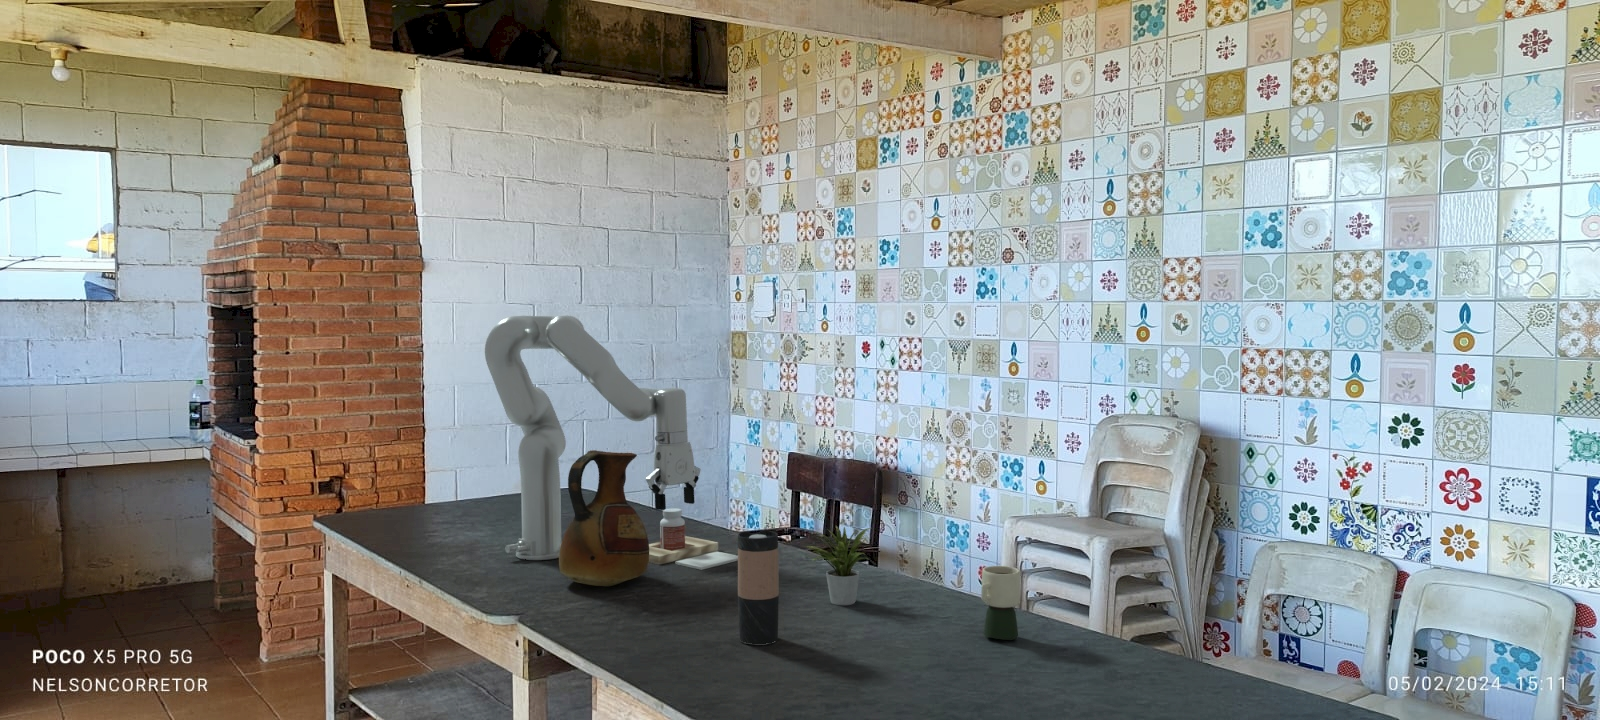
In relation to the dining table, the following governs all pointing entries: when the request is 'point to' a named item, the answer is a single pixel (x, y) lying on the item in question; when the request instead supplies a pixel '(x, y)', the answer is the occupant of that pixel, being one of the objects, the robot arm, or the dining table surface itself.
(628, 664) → the dining table surface
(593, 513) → the ceramic pitcher
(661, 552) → the wooden rectangular frame
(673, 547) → the pill bottle
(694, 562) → the mat
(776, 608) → the travel mug
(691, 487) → the robot arm
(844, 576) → the house plant
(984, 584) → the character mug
